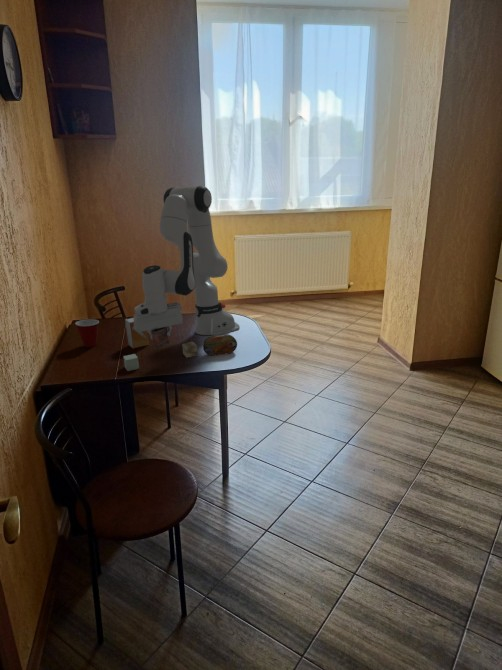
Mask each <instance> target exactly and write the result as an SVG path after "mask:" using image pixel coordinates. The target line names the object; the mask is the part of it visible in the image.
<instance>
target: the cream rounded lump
mask: <svg viewBox="0 0 502 670" xmlns="http://www.w3.org/2000/svg"><path fill="white" fill-rule="evenodd" d="M181 345H182V354H183V355H184V356H185V358H186V359H188V357H189V358H191V357H192V356H193V357H197V356H199V355H198V345H197V344H196V343H195V342H194V341H189V342H185V343H182V344H181ZM196 355H197V356H196Z"/></svg>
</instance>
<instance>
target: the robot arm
mask: <svg viewBox="0 0 502 670" xmlns="http://www.w3.org/2000/svg"><path fill="white" fill-rule="evenodd" d="M212 199H213V197H212V192H211V191H210V189H209V188H208V187H207V186H203V185H198V186H197V185H184V186H177V187H176V186H175V187H169V188H168V189H166V191H165V192H164V194H163V199H162V200H163V207H162V210H161V214H160V215H161V216H160V220H159V221H160V223H159V232H160V234H161V236H162V237H163V238H164V239H165V240H167V241H169V242H170V243H172V244H174V245H176V246H177V247H178V248H179V251H180V270H170V269H165V268H162V267H161V265H157V264H155V265H150V266H147V267H145V268H144V269H143V270H142V275H141V280H142V281H141V282H142V283H141V284H142V289H143V292H144V302H142V303H141V304H138V305H137V306H135V307H134V311H135V312H134V314H133V318H134V329H135V330H136V331H137V332H142V331H147V332H148V335H149V337H150V340H153V333H152V331H153V330H154V329H157V328H162V327H167V332H166V335H167V336H168V337H171V332H172V330H173V326H177V325H181V324H183V322H184V319H183V314H182V305H181V303H179V302H176V301H175V302H173V303H168V300H167V295H166V294H173V295H174V294H176V295H181V296H188V295H190V294H192V292H194V296H195V310H194V311H195V314H196V315H195V316H196V323H195V324H196V325H195V331H194V332H195V334H197V335H201V336H211V337H212V336H220V335H225V334H228V333H231V332H234V331H237V330H240V324H238V323H237V322H236V321H235V318H234V316H233V315H232V314H231V313H229V312H228V311H227V310H224V309H225V308H226V304H224V303H222V302H220V301H219V296H218V295H219V294H218V287H217V286H216V284H215V283H214V282H213V281H212V279H218V278H221V277H223V276H225V275H226V273H227V272H228V262H227V260H226V258H224V257H223V255H221V254H222V253H220V252H219V249H218V248H217V245H216V243H215V240H214V235H213V234H214V233H213V225H212V217H211V211H210V208H211V205H212V201H213V200H212ZM194 248H195V250H196V251H197V252H194ZM211 278H212V279H211ZM155 326H156V328H155Z"/></svg>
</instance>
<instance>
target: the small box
mask: <svg viewBox="0 0 502 670" xmlns="http://www.w3.org/2000/svg"><path fill="white" fill-rule="evenodd" d="M124 322H125V329H126V335H127V336H126V337H127V341H128V343H127V344H128V346H129V347H130V348H132V349H137V348H141V347H146V346H149V345H150V342H149V341H150V340H149V333H148V332H147V331H142V332H137V331H136V330H135V329H134V317H131V318H125V321H124Z"/></svg>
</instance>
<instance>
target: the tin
mask: <svg viewBox="0 0 502 670" xmlns="http://www.w3.org/2000/svg"><path fill="white" fill-rule="evenodd" d="M237 347H238V341H237V339H236V338H235V337H234V336H233V335H230V334H221V335H218V336H212V335H211V336H209V337H207V338H206V339H204V341H203V344H202V348H203V351H204V353H205V354H206V355H208V356H210V357H211V356H212V357H214V356H221V355H229V354H232V353H234V352H235V351H236V350H237Z"/></svg>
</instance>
